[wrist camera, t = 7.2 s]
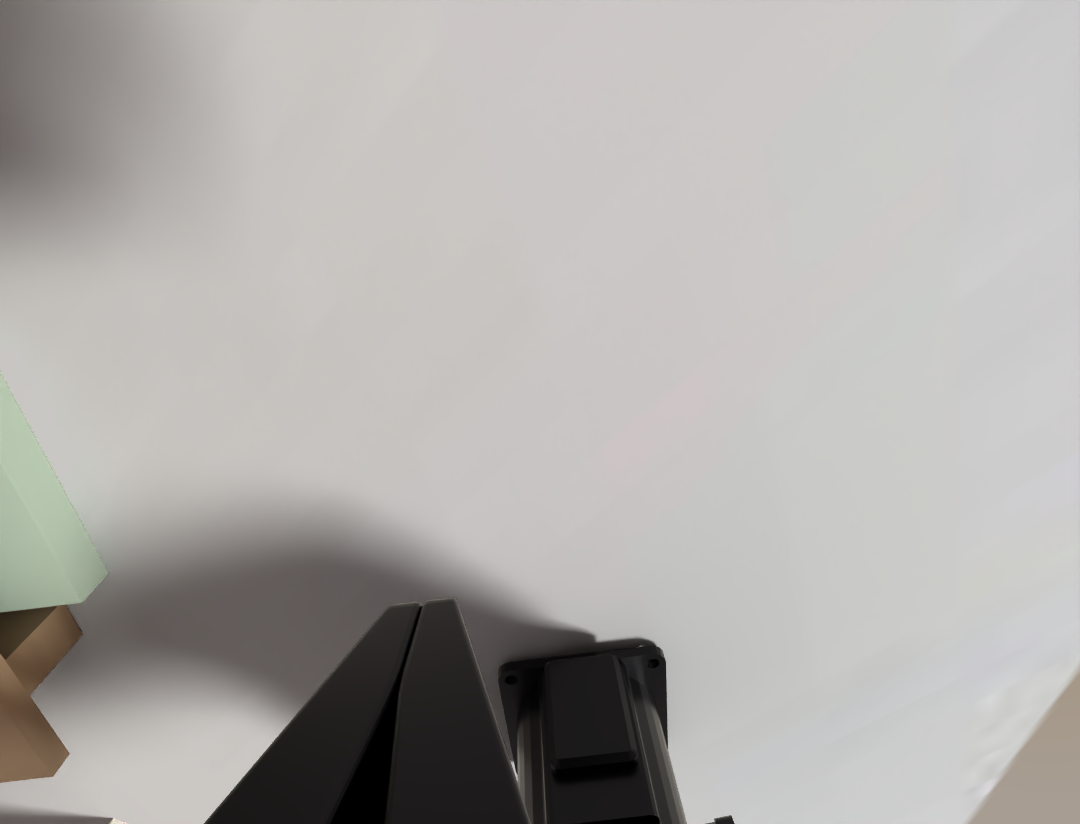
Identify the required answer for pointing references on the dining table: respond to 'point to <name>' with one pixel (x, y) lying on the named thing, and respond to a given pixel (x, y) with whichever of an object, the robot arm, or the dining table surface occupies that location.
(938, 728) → the dining table surface
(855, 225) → the dining table surface
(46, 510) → the cover plate
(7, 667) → the low shelf
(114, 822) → the milk
